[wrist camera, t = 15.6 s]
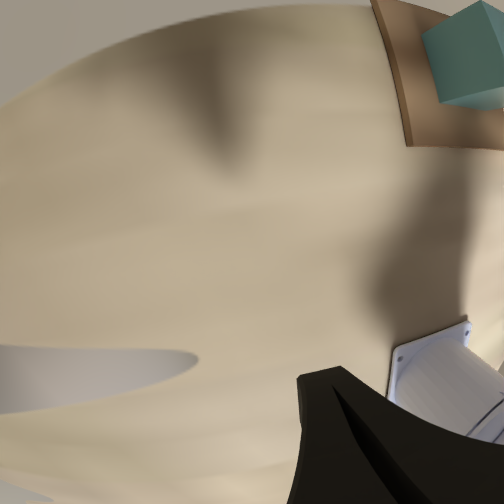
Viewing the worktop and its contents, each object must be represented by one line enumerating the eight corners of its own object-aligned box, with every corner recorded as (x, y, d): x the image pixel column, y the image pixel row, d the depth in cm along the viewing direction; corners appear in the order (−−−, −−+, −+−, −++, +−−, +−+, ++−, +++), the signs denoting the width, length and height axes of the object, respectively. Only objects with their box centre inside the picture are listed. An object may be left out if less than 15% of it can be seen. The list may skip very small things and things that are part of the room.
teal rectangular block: (485, 110, 15) (549, 101, 8) (439, 103, 15) (511, 84, 8) (468, 49, 14) (526, 27, 7) (420, 34, 13) (480, -1, 7)
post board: (503, 150, 16) (550, 151, 11) (406, 146, 16) (462, 139, 11) (473, 30, 14) (512, 13, 9) (370, 0, 13) (405, -37, 8)
